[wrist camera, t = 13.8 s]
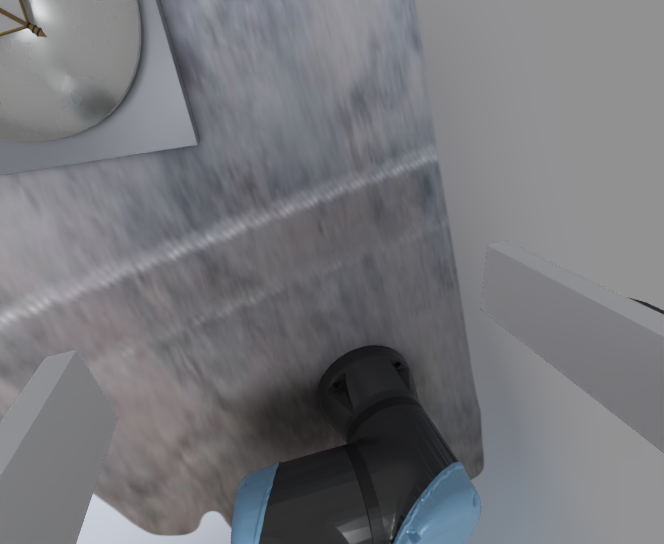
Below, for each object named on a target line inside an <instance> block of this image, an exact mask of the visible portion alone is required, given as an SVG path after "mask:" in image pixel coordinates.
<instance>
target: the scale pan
mask: <svg viewBox="0 0 664 544" xmlns="http://www.w3.org/2000/svg"><path fill="white" fill-rule="evenodd" d="M22 2H23V5H24V8H25V11H26V14H27V17H28V20H29V22H30V23H31V24H33V25H37V27H39V28H42V30H43V32H44V33H45V35H46V36H47V37H40V36H39V37H37V35H36V34H33V33H32V31H31V30H30V29H28V28H26V29H22V30H19V31H16V32H13V33H10V34H6V35H3V36H0V140H6V141H20V142H36V141H49V140H54V139H59V138H64V137H68V136H72V135H75V134H77V133H80V132H83V131H85V130H87V129H89V128H91V127H93V126H94V125H96V124H98V123H99V122H101V121H102V120H103V119H105V118H106V117H107V116H108V115H110V114H111V113H112V112H113V111H114V109H115V108H116V107H117V106H118V105H119V104H120V103H121V101H122V100H123V98H124V97H125V95H126V94H127V92H128V90H129V88H130V86H131V84H132V81H133V79H134V77H135V74H136V70H137V66H138V62H139V58H140V49H141V19H140V12H139V5H138V0H22Z"/></svg>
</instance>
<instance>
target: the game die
mask: <svg viewBox="0 0 664 544" xmlns="http://www.w3.org/2000/svg"><path fill="white" fill-rule="evenodd" d="M26 28H28V29H30V30H31V31H32V33H33V34H36V35H37V37H39V36H40V37H47V36H46V35H45V33H44V32H43V30H42V28H39V27H37V25H33V24H31V23H30V22H29V20H28V17H27V14H26V11H25V8H24V5H23V2H22V0H0V36H3V35H6V34H10V33H13V32H16V31H19V30H22V29H26Z"/></svg>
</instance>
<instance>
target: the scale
mask: <svg viewBox="0 0 664 544" xmlns="http://www.w3.org/2000/svg"><path fill="white" fill-rule="evenodd" d="M138 5H139V12H140V19H141V49H140V58H139V62H138V66H137V70H136V74H135V77H134V79H133V81H132V84H131V86H130V88H129V90H128V92H127V94H126V95H125V97H124V98H123V100H122V101H121V103H120V104H119V105H118V106H117V107H116V108H115V109H114V111H113V112H112V113H111V114H110V115H108V116H107V117H106V118H105V119H103V120H102V121H101V122H99V123H98V124H96V125H94V126H93V127H91V128H89V129H87V130H85V131H83V132H80V133H77V134H75V135H72V136H68V137H64V138H59V139H54V140H49V141H36V142H20V141H6V140H0V175H6V174H12V173H19V172H25V171H31V170H38V169H44V168H51V167H57V166H64V165H70V164H76V163H83V162H89V161H96V160H102V159H109V158H115V157H121V156H128V155H134V154H141V153H147V152H154V151H160V150H166V149H173V148H179V147H186V146H192V145H198V143H199V142H200V139H199V135H198V132H197V128H196V125H195V121H194V118H193V114H192V111H191V107H190V104H189V100H188V97H187V93H186V90H185V86H184V83H183V79H182V76H181V72H180V69H179V65H178V62H177V58H176V55H175V51H174V48H173V44H172V41H171V37H170V34H169V30H168V27H167V23H166V20H165V16H164V13H163V9H162V6H161V2H160V0H138Z"/></svg>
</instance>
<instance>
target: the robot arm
mask: <svg viewBox="0 0 664 544" xmlns="http://www.w3.org/2000/svg"><path fill="white" fill-rule="evenodd" d="M481 310H482V311H483V312H484V313H485V314H487V315H488V316H489V317H490V318H492V319H493V320H494V321H496V322H497V323H498V324H499V325H501V326H502V327H503V328H504V329H506V330H507V331H508V332H510V333H511V334H512V335H513V336H515V337H516V338H517V339H519V340H520V341H521V342H522V343H524V344H525V345H526V346H528V347H529V348H530V349H531V350H533V351H534V352H535V353H536V354H538V355H539V356H540V357H542V358H543V359H544V360H545V361H547V362H548V363H549V364H550V365H552V366H553V367H554V368H556V369H557V370H558V371H559V372H561V373H562V374H563V375H565V376H566V377H567V378H569V379H570V380H571V381H572V382H574V383H575V384H576V385H577V386H579V387H580V388H581V389H582V390H584V391H585V392H586V393H588V394H589V395H590V396H591V397H593V398H594V399H595V400H597V401H598V402H599V403H601V404H602V405H603V406H604V407H605V408H607V409H608V410H609V411H611V412H612V413H613V414H615V415H616V416H617V417H618V418H619V419H621V420H622V421H623V422H625V423H626V424H627V425H628V426H630V427H631V428H632V429H634V430H635V431H636V432H637V433H639V434H640V435H641V436H642V437H644V438H645V439H646V440H648V441H649V442H650V443H651V444H653V445H654V446H655V447H657V448H658V449H659V450H660V451H662V452H663V453H664V311H663V310H661V309H659V308H657V307H654V306H652V305H650V304H648V303H645V302H642V301H638V300H635V299H632V298H628V297H625V296H623V295H621V294H618V293H617V292H615V291H612V290H610V289H608V288H606V287H604V286H601V285H600V284H597V283H595V282H593V281H591V280H589V279H587V278H584V277H582V276H580V275H578V274H576V273H574V272H572V271H570V270H568V269H565V268H563V267H561V266H559V265H557V264H555V263H553V262H551V261H548V260H546V259H544V258H542V257H540V256H538V255H536V254H534V253H531V252H529V251H527V250H525V249H523V248H521V247H519V246H516V245H514V244H512V243H510V242H508V241H502V242H499V243H495V244H491V245H488V246H487V253H486V263H485V273H484V282H483V292H482V302H481ZM318 400H319V403H320V406H321V409H322V412H323V414H324V416H325V418H326V420H327V421H328V422H329V423H330V424H331V425H332V427H333V428H334V429H335V430H336V431H337V433H338V434H339V435H340V436H341V437H342V438H343V440H344V441H345V442H346V445H343V446H339V447H336V448H332V449H329V450H325V451H321V452H318V453H314V454H311V455H307V456H304V457H300V458H297V459H293V460H289V461H286V462H282V463H281V461H279V462H276V463H275V464H274V465H273V466H270V467H267V468H264V469H261V470H258V471H255V472H252V473H250V474H248V475H247V476H246V477H245V478H244V479H243V480H242V482H241V483H240V485H239V487H238V490H237V493H236V498H235V503H234V510H233V519H232V532H231V544H465V542H466V541H467V540H468V539H469V538H470V536H471V535H472V533H473V532H474V530H475V528H476V526H477V524H478V522H479V519H480V515H481V501H480V497H479V495H478V492H477V491H476V489H475V487H474V485H473V484H472V482H471V480H470V478H469V477H468V475H467V473H466V471H465V468H464V466H463V464H462V463H461V462H459V461H458V459H457V458H456V456H455V455H454V453H453V452H452V451H451V449H450V448H449V446H448V445H447V443H446V442H445V440H444V439H443V437H442V436H441V434H440V433H439V431H438V430H437V428H436V427H435V425H434V424H433V422H432V421H431V420H430V418H429V417H428V415H427V414H426V412H425V411H424V409H423V408H422V406H421V405H420V403H419V400H418V396H417V392H416V388H415V384H414V381H413V377H412V373H411V370H410V368H409V367H408V365H407V364H406V362H405V361H404V359H403V358H402V357H401V355H399V354H398V353H397V352H396V351H394V350H392V349H390V348H386V347H381V346H371V347H365V348H361V349H357V350H355V351H352V352H350V353H348V354H346V355H345V356H343V357H341V358H340V359H339V360H337V361H336V362H335V363H334V364H333V365H332V366H331V367H330V368H329V369H328V370H327V372H326V373H325V375H324V376H323V378H322V380H321V382H320V385H319V389H318ZM117 420H118V416H117V414H116V412H115V411H114V409H113V407H112V406H111V404H110V403H109V401H108V399H107V398H106V396H105V394H104V393H103V391H102V390H101V388H100V386H99V385H98V383H97V381H96V380H95V378H94V377H93V375H92V373H91V372H90V370H89V368H88V367H87V365H86V364H85V362H84V360H83V359H82V357H81V355H80V354H79V352H78V351H77V350H73V351H69V352H65V353H61V354H57V355H53V356H49V357H46V358H45V359H44V361H43V362H42V363H41V365H40V366H39V368H38V369H37V370H36V372H35V373H34V375H33V376H32V378H31V379H30V380H29V382H28V383H27V385H26V386H25V387H24V389H23V390H22V392H21V393H20V394H19V396H18V397H17V399H16V400H15V402H14V403H13V404H12V406H11V407H10V409H9V410H8V411H7V413H6V414H5V416H4V417H3V419H2V420H1V421H0V544H76V542H77V539H78V536H79V533H80V530H81V527H82V524H83V521H84V518H85V515H86V512H87V509H88V506H89V503H90V500H91V497H92V494H93V491H94V488H95V485H96V482H97V479H98V476H99V473H100V470H101V467H102V464H103V461H104V458H105V455H106V453H107V450H108V447H109V444H110V441H111V438H112V435H113V432H114V429H115V426H116V423H117Z"/></svg>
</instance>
